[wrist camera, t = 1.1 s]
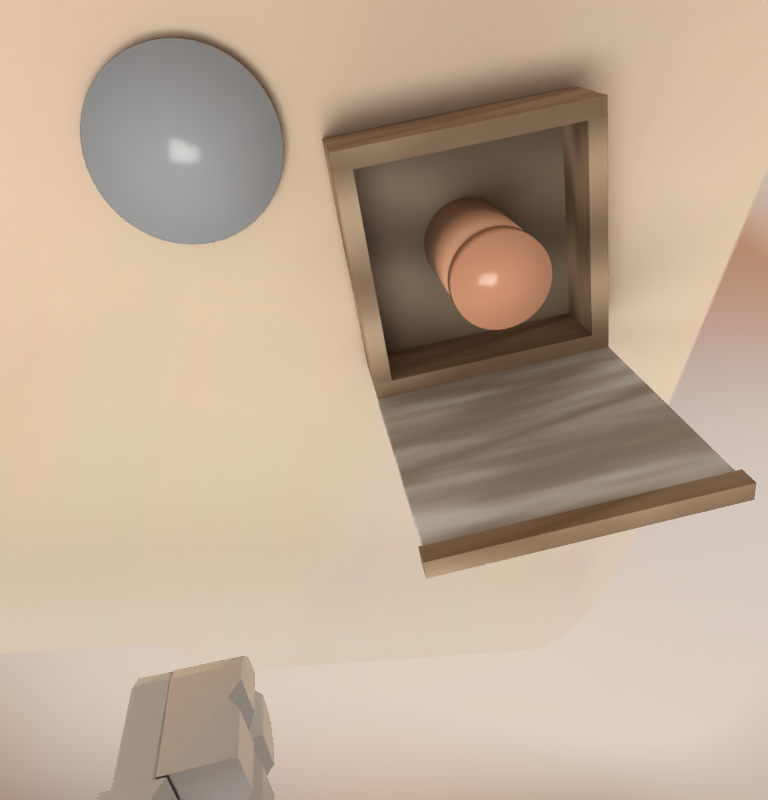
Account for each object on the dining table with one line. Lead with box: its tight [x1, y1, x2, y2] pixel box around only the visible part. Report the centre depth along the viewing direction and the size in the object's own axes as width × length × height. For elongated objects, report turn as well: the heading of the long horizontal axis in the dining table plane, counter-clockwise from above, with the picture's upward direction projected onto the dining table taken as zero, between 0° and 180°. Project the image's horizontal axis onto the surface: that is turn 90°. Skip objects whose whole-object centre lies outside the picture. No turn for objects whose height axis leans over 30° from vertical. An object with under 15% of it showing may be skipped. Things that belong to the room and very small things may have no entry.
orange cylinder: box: [424, 197, 552, 330], centre depth 38 cm, size 5×5×7 cm
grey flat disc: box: [80, 38, 284, 244], centre depth 36 cm, size 10×10×1 cm
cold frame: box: [322, 87, 756, 579], centre depth 34 cm, size 15×14×18 cm
